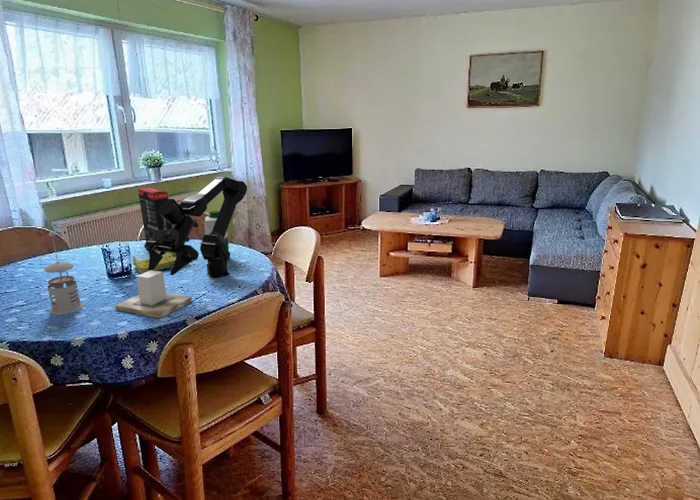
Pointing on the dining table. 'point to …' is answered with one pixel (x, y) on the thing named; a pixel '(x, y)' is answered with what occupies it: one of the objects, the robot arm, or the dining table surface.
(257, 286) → the dining table surface
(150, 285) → the block
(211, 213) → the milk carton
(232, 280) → the dining table surface
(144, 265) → the plastic component
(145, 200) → the graphics card box
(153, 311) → the board
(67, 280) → the french press
